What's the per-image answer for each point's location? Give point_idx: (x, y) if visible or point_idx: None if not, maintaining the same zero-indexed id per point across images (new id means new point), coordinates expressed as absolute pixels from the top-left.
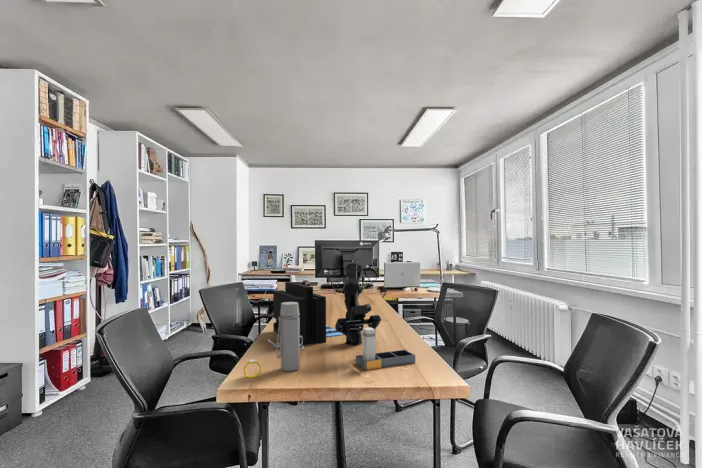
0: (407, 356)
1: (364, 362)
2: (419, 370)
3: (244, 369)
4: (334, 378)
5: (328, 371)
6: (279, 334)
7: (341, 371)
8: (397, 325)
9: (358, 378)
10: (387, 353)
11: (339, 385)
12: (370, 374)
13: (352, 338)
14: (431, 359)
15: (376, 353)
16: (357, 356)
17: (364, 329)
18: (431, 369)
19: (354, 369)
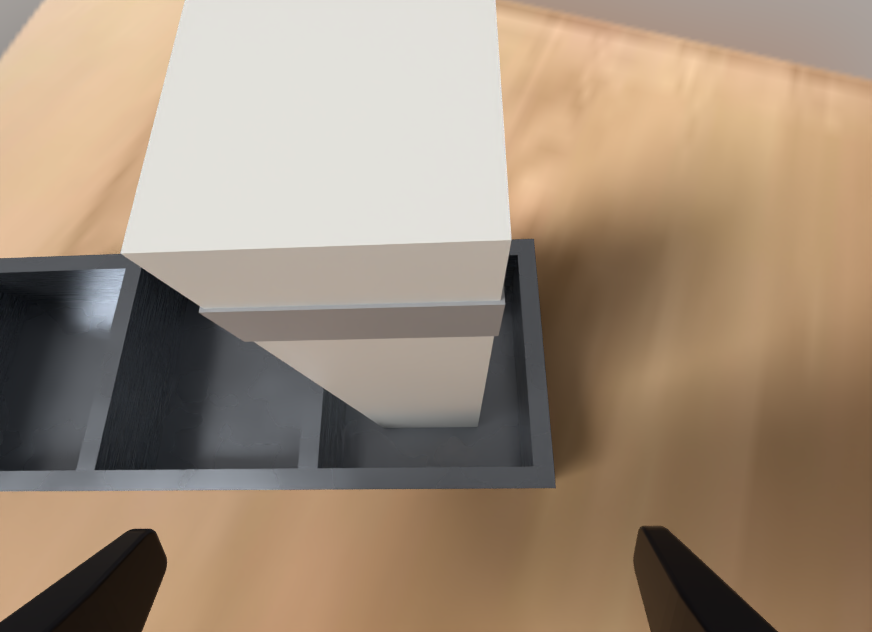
0: (40, 259)
1: (528, 242)
2: (116, 169)
3: None
4: (813, 217)
5: (864, 400)
6: None
7: (728, 354)
8: None
9: (615, 163)
10: (124, 470)
11: (785, 91)
12: None
13: (701, 576)
14: None
15: (263, 474)
16: (544, 446)
17: (498, 95)
18: (30, 161)
19: (590, 362)
